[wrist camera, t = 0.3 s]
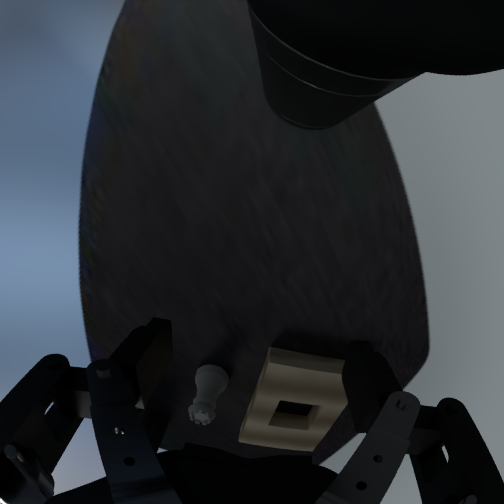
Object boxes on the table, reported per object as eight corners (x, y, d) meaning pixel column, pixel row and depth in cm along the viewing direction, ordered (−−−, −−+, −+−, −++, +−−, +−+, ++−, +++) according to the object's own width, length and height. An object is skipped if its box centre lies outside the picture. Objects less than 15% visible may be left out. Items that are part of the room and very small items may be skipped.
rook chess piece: (236, 374, 34) (227, 419, 27) (218, 390, 35) (207, 433, 28) (207, 357, 34) (192, 401, 26) (191, 374, 35) (175, 416, 27)
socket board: (270, 346, 32) (269, 362, 29) (358, 361, 32) (364, 376, 29) (240, 427, 38) (238, 441, 35) (311, 437, 38) (312, 451, 35)
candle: (148, 406, 39) (92, 527, 15) (170, 423, 39) (126, 543, 16) (133, 413, 40) (79, 522, 16) (154, 429, 41) (110, 537, 17)
